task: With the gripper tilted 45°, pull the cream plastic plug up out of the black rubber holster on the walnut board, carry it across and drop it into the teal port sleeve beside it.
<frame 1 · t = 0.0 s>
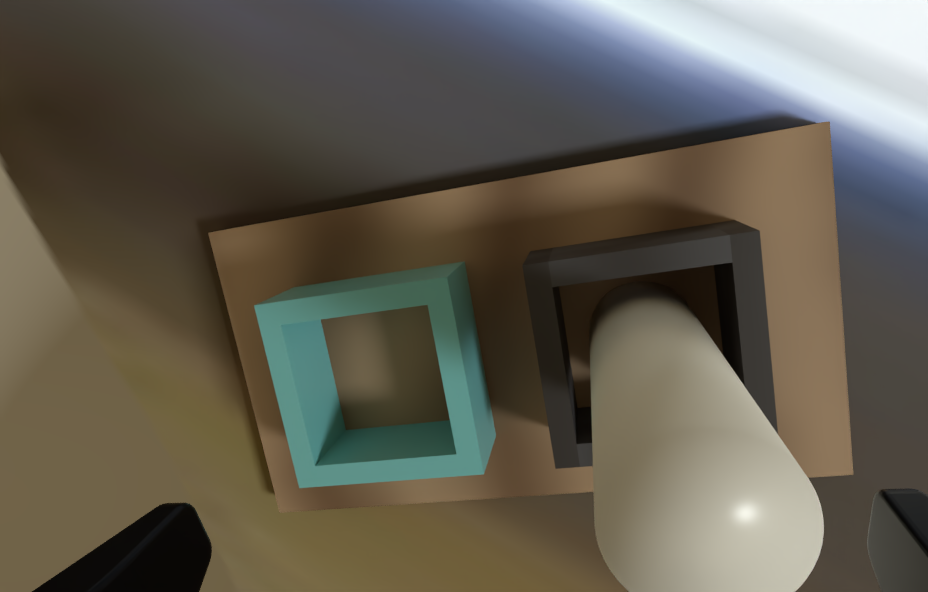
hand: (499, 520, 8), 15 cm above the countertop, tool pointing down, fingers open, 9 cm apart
port: (394, 361, 24), resting on panel board
plug: (641, 331, 22), point 1 cm above the countertop, touching panel board
panel board: (515, 339, 24), on the countertop
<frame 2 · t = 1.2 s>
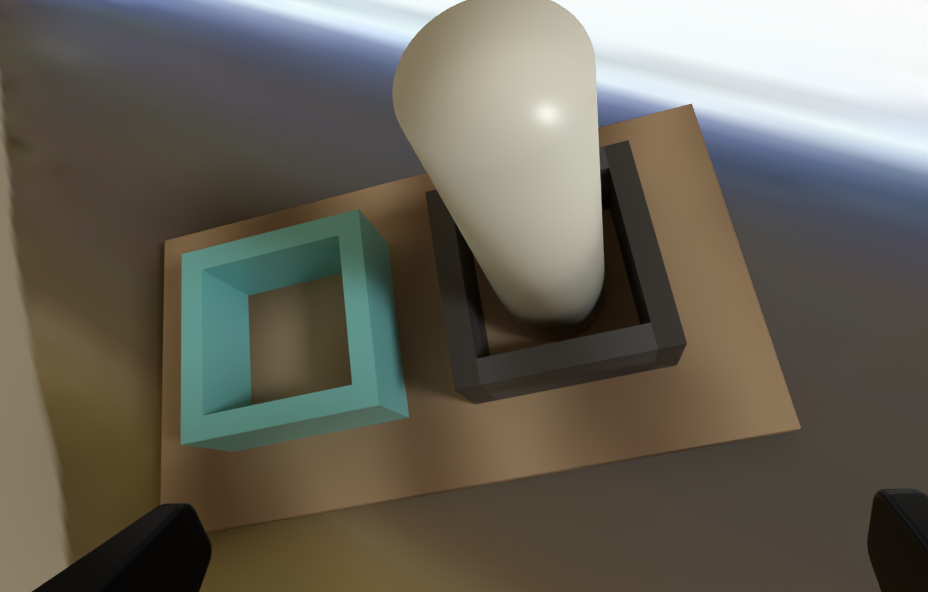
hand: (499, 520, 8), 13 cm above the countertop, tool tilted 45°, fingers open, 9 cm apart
port: (312, 344, 23), resting on panel board
plug: (553, 291, 22), point 1 cm above the countertop, touching panel board
panel board: (436, 326, 24), on the countertop
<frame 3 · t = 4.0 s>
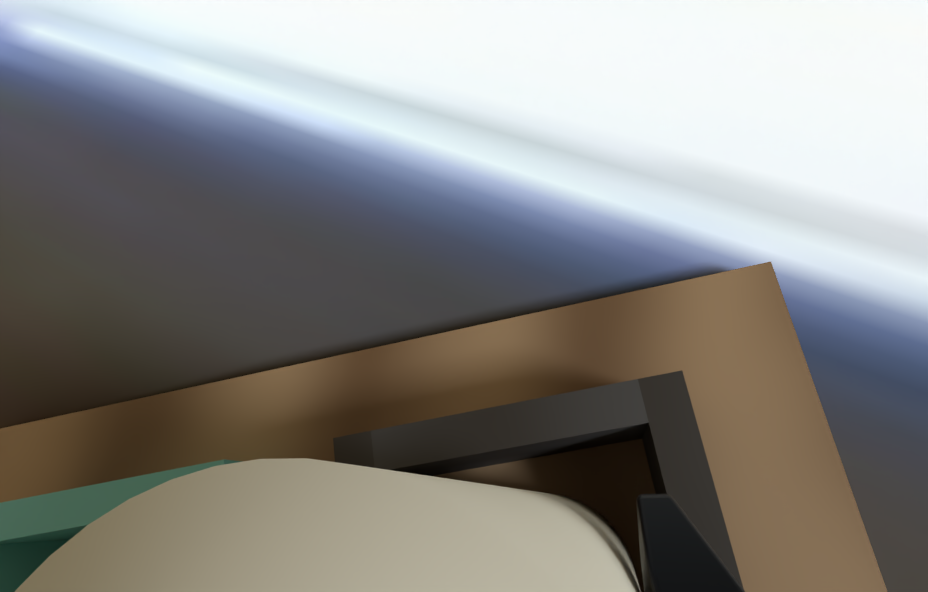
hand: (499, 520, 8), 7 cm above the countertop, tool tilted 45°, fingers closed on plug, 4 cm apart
plug: (550, 581, 13), point 1 cm above the countertop, touching gripper, panel board
when the fingers open (9 cm above the countertop, at t = 7.8 s): plug drops 1 cm, resting on panel board.
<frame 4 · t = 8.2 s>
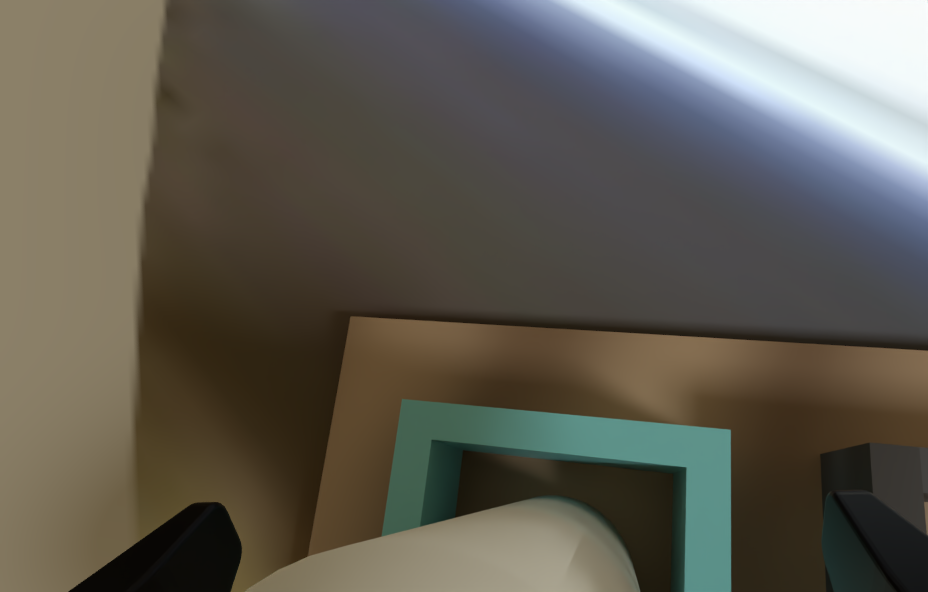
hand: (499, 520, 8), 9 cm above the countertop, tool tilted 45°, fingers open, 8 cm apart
port: (555, 573, 15), resting on panel board
plug: (556, 574, 15), point 1 cm above the countertop, touching panel board
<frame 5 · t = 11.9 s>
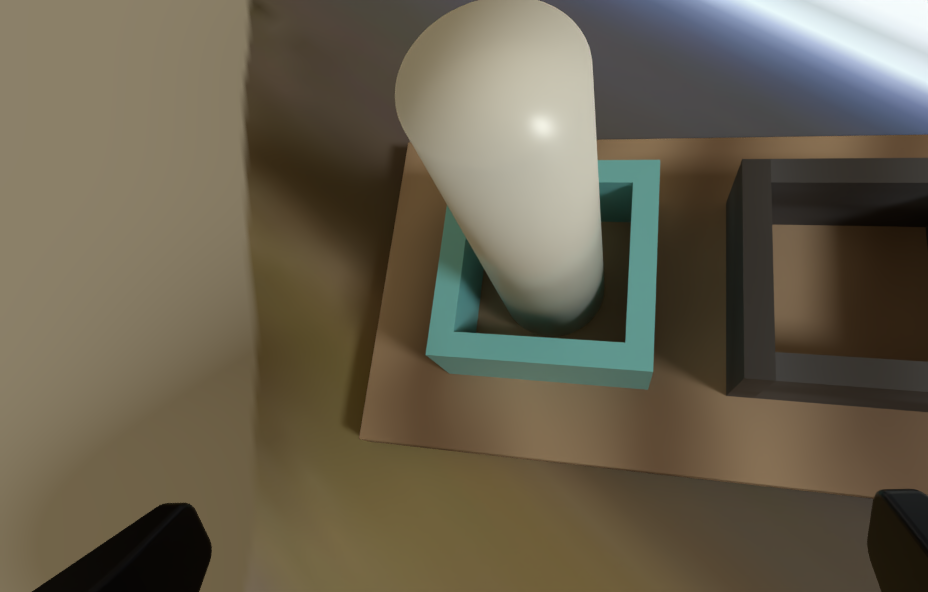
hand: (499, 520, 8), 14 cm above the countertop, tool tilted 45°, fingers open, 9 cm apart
port: (552, 287, 22), resting on panel board
plug: (552, 287, 22), point 1 cm above the countertop, touching panel board
panel board: (685, 302, 22), on the countertop
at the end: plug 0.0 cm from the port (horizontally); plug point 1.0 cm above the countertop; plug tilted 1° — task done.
